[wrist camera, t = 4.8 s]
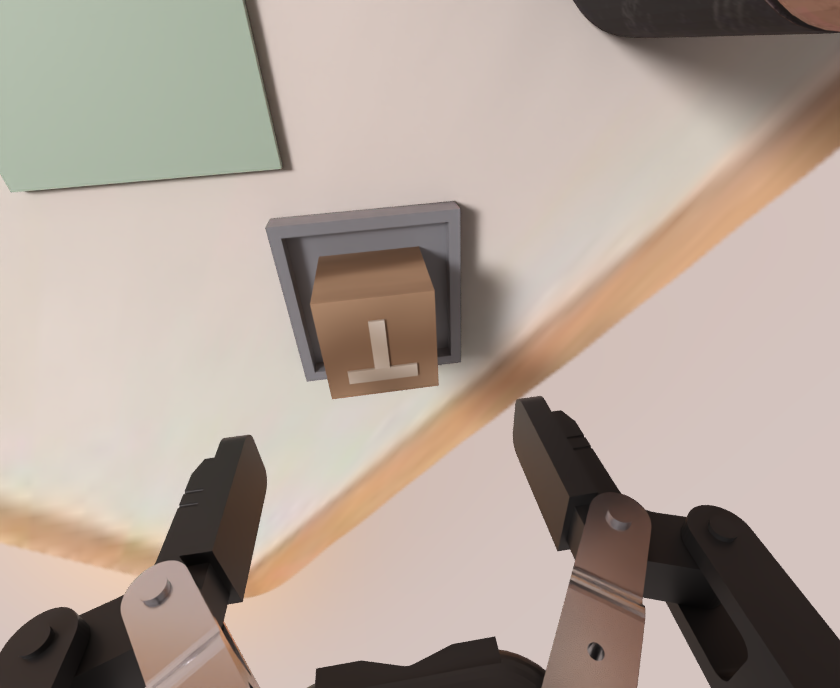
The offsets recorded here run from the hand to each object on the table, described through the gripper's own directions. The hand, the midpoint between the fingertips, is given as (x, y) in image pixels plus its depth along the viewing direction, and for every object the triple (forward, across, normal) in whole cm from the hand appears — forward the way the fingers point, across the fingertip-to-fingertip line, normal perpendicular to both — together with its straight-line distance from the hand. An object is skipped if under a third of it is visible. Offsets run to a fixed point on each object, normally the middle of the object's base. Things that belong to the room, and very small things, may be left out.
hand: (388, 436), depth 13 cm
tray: (+9, 0, 0) cm, 9 cm away
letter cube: (+9, 0, 0) cm, 9 cm away
